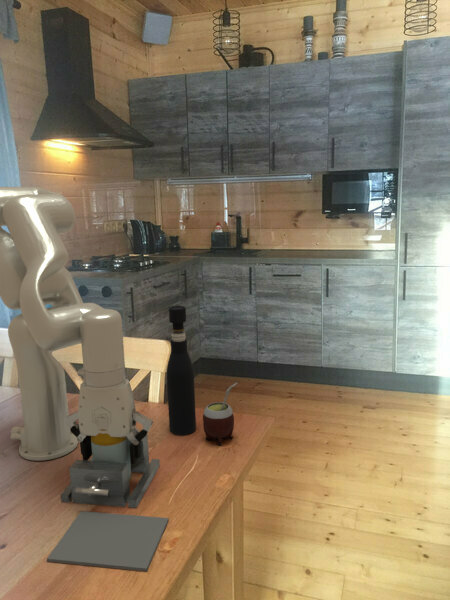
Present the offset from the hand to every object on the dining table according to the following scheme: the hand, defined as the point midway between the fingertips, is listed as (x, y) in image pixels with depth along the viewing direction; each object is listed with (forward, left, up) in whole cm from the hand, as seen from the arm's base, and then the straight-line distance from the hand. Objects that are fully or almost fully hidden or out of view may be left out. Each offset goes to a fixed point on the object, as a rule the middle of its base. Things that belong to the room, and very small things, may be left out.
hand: (111, 459), depth 96 cm
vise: (0, -1, -5) cm, 5 cm away
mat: (+6, -16, -5) cm, 18 cm away
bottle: (0, 0, -5) cm, 5 cm away
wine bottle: (+8, +24, -5) cm, 26 cm away
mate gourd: (+18, +20, -5) cm, 27 cm away
